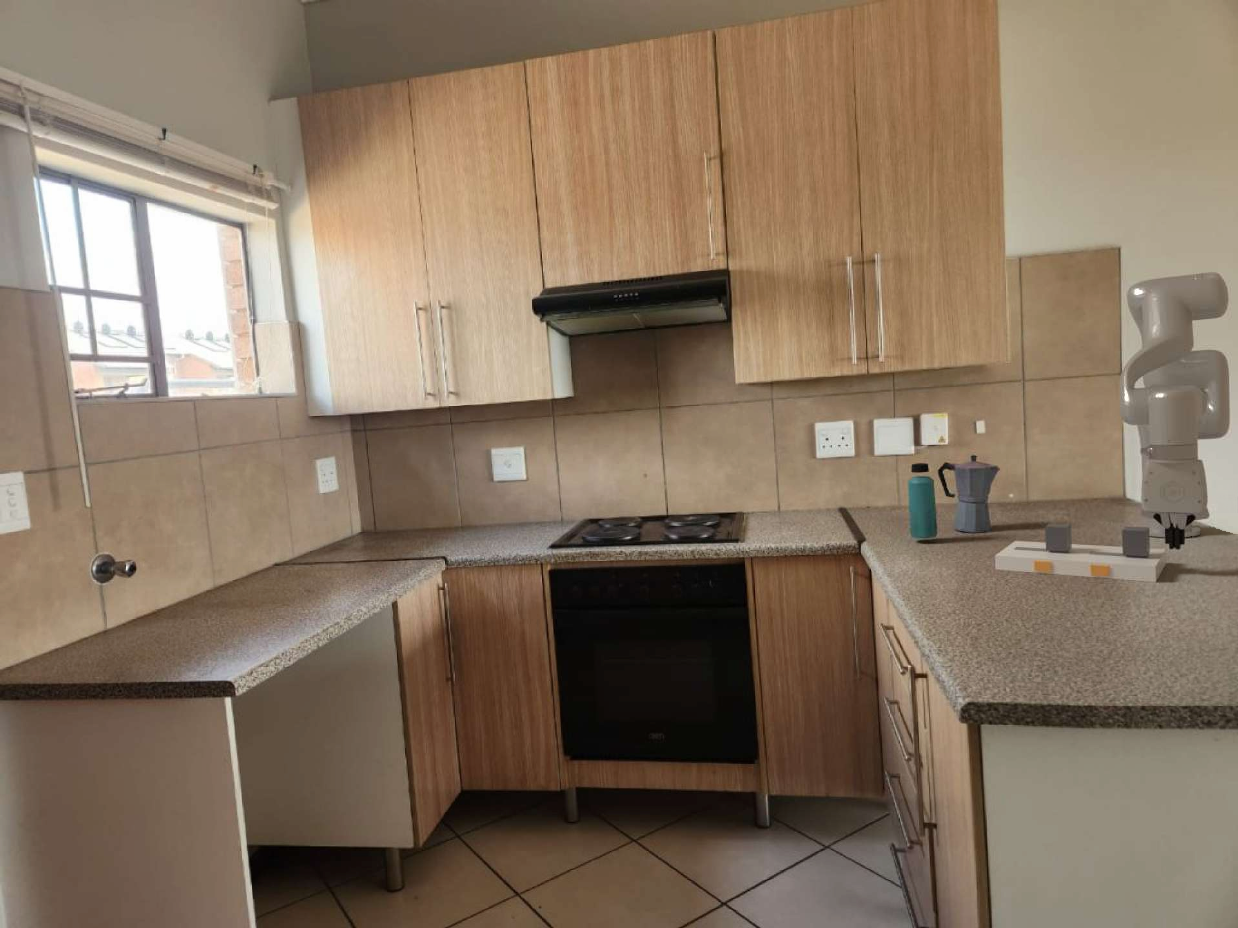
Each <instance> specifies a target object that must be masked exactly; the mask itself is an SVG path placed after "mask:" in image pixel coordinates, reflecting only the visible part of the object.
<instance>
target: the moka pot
mask: <svg viewBox="0 0 1238 928" xmlns="http://www.w3.org/2000/svg"><path fill="white" fill-rule="evenodd" d="M977 458H978V456H977V455H975V454H973V455H970V461H967V462H962V463H950V462H944V463H943V464H942V465H941V466H940V467H939V468H938V470H937V476H938V478H939V480H940V483H941V486H942V488H943V492H944V495H945V497H948V498H949V497H950V498H952V499H953V498H955V497H956V494H955V493H951V492H950V491H949V489H948V488H949V487H948V485H947V480H946V478H945V474H944V471H945V470H949V471H953V472H954V476H955V478H954V479H955V484H956V492H957V498H958V501H957V507H956V511H955V519H954V526H953V529H954V530H956V531H959V532H963V533H975V534H976V533H977V534H978V533H979V534H980V533H987V532H988V533H989V532H990V531H991V528H992V527H991V519H990V509H989V504H988V501H989V495H990V493H991V487H992V484H993V482H994V480H995V478H996V476H997V473H998V472H999V471H1000V470H1002V469H1001V467H999V466H998V465H995V464H991V463H990V464H989V463H986V462H980V461H977Z"/></svg>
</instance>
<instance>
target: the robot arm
mask: <svg viewBox="0 0 1238 928" xmlns="http://www.w3.org/2000/svg"><path fill="white" fill-rule="evenodd" d="M1126 298H1127V299H1126V300H1127V305H1128V309H1129V312H1130V314H1131V317H1132V319H1133V320H1134V322H1135V324H1136V327H1137V328H1138V330H1139V331H1138V332H1139V333H1140V335H1141V337H1140V338H1141V348H1140V349H1139V350H1138V351H1137V352H1136V353H1135V354H1133V355H1132V357H1131V358H1130V359H1129V360H1128V362H1126V364H1125V366H1124V367H1123V369H1122V371H1121V373H1120V376H1119V379H1118V381H1119V382H1118V409H1119V410H1118V411H1119V415H1120V417H1121V420H1122V421H1123V422H1124V423H1125V424H1128V425H1131V426H1136V427H1137V432H1138V436H1139V443H1140V450H1139V452H1140V455H1141V473H1142V475H1141V476H1142V477H1141V490H1140V491H1141V493H1140V494H1141V495H1140V496H1141V498H1140V499H1141V500H1140V501H1141V511H1140V516H1141V517H1142V524H1139V525H1138V526H1136V527H1149V537H1155V538H1164V543H1165V545H1168V549H1169V550H1173V549H1175V550H1180V549H1181V547H1182V546H1183V545H1185V543H1186V539H1185V538H1191V536H1192V537H1195V536H1196V537H1197V536H1200V534H1201V528H1200V527H1198V526H1194V525H1193V522H1195V521H1202V520H1207V519H1209V518H1210V512H1209V510H1208V502H1209V501H1208V497H1209V496H1208V487H1207V476H1206V471H1205V466H1204V461H1203V460H1202V459H1199V452H1198V451H1199V445H1198V444H1199V443H1198V442H1199V441H1200V440H1215V439H1221V438H1223V437H1225V436H1226V435H1228V434H1227V433H1228V432H1229V430H1230V422H1231V420H1230V418H1231V417H1230V416H1231V414H1230V413H1231V412H1230V411H1231V410H1230V409H1231V408H1230V370H1229V369H1230V368H1229V364H1228V363H1229V362H1228V360H1227V357H1226V355H1225V354H1224V353H1223V352H1221V351H1220V350H1216V349H1203V350H1202V349H1199V350H1193V348H1194V344H1195V343H1194V342H1195V341H1194V340H1195V339H1194V329H1193V328H1194V327H1193V321H1202V320H1213V319H1214V320H1215V319H1219V318H1222V317H1223V316H1224V315H1225V313H1226V312H1227V311H1228V310H1227V309H1228V306H1229V291H1228V286H1227V284H1226V281H1225V280H1224V279H1223V277H1222V276H1221V274H1220V273H1218V272H1212V271H1211V272H1202V273H1191V274H1185V275H1175V276H1167V277H1158V278H1154V279H1153V278H1151V279H1148V280H1147V279H1146V280H1142V281H1139V282H1136V283H1134V284H1132V285H1131V286H1130V287H1129V288H1128V290H1127V294H1126ZM1141 378H1142V381H1143V386H1144V387H1137V388H1136V387H1135V386H1136V385H1135V384H1136V383H1137V382H1138V381H1139V380H1140V379H1141ZM1198 440H1199V441H1198Z"/></svg>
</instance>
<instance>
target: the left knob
mask: <svg viewBox="0 0 1238 928" xmlns="http://www.w3.org/2000/svg"><path fill="white" fill-rule="evenodd" d="M1044 528H1045V543H1046V550H1050V551H1067V552H1068V551H1069V550H1070V549H1071V548H1072V544H1073V543H1072V523H1048V524H1047V525H1046V526H1045V527H1044Z"/></svg>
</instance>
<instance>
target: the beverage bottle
mask: <svg viewBox="0 0 1238 928" xmlns="http://www.w3.org/2000/svg"><path fill="white" fill-rule="evenodd" d="M910 472H911V473H913V474H915V473H917V474H919V473H929V472H930V468H929V463H925V462H919V463H912V464H911V471H910ZM907 489H908V514H909V533H910V536H911V537H912V538H915V539H933V538H937V536H938V531H939V530H938V523H937V515H938V514H937V505H936V498H935V497H936V495H935V493H936V492H935V480H934V479H933V478H932V477H931V476H929V475H916V476H912V477H910V478H909V480H907Z"/></svg>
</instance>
